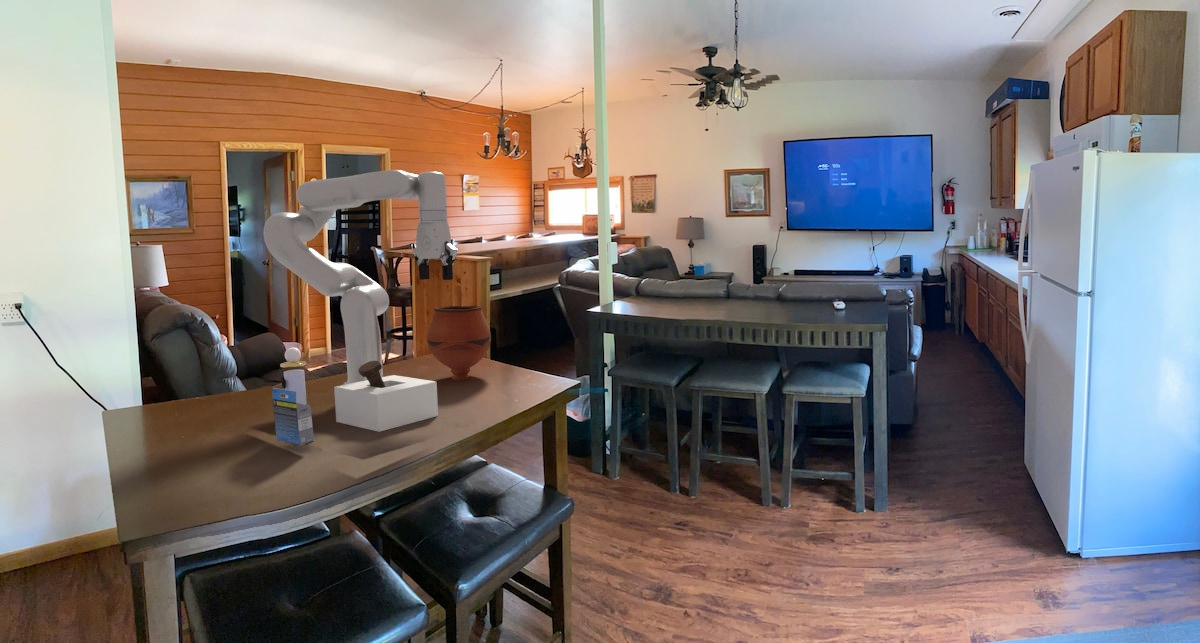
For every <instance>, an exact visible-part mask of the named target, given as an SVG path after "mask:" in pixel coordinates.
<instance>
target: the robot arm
mask: <svg viewBox="0 0 1200 643" xmlns="http://www.w3.org/2000/svg"><path fill="white" fill-rule="evenodd" d="M446 183H447V182H446V176H445V174H444V173H442V172H438V171H422V172H419V173H417V174H415V173H410V172H407V171H404V170H399V169H390V170H389V169H388V170H381V171H372V172H371V171H370V172H367V173H361V174H354V175H348V176H341V177H333V178H323V179H315V180H308V181H306V182H303V183H301V184H300V185H299V186H298V188H297V190H296V200H297V203H298V204H299V205H300V206H301V207H300V209H298V211H297V212H290V211H283V212H281V211H280V212H277V213H274V214H272V215H271V216H269V217H268V218H267V219H266V221H265V223H264V225H263V240H264V243H265V246H266V248H267V250H268V252H269V253H270V254H271V255H272V257H273V258H274V259H275V260H276V261H277V262H278V263H280V264H281V265H282V266H284V267H285V268H286V269H288V270H289V271H291V272H292V274H295V275H296V276H298V278H300V279H301V280H303V282H305V283H306V284H308V285H309V286H310V287H312V288H313V289H315V290H316V291H317V292H318V293H320V294H321V295H324V297H339V296H340V297H341V299H340V303H339V304H340V307H339V308H340V313H341V318H342V324H343V330H344V341H345V353H346V354H345V355H346V368H347V369H346V371H347V380H346V381H345V382H344V383H343V384H342V385H346V384H351V383H356V382H361V381H366V380H367V378H366V377H363V376H361V375H360V374H359V371H358V370H359V368H360V367H361V366H362V365H363V364H365V363H367V362H369V361H379V363H380V364H381V366H382V368H381V369H380V370H379V372H380V375H381V377H384V372H383V370H384V369H383V357H382V356H383V355H382V354H383V353H382V338H381V337H382V336H381V329H380V325H379V319H378V316H381V315H382V314H384V313H385V312H386V311H387V309H388V308H389V306H390V298H389V297H390V296H389V294H388V292H387V291H386V290H385V288H384V287H382V286H381V285H380V284H379V283H377V281H375V280H373V279H372V278H371V277H369V276H368V275H366V274H365V273H364V272H363V271H361V270H359V269H358V268H357V267H356V266H353V265H351V264H349V263H346V262H333V261H331V260H329V259H327V258H326V257H324V256H323V255H322V254H320V253H319V252H318V251H316V250H315V249H314V248H312V247H309V246H308V245H307V244H305V243H307V242H310V241H311V240H313V239H315V237H317V236H318V234H319V233H320V232H321V231H322V230H323V228H324V227H325V226H326V224H327V223H328V222H329V221H330V219H331V218H332V217H333V216H334V214H335V213H336V212H337V210H341V209H342V210H343V209H352V208H358V207H361V206H362V205H363V204H365V203H369V202H375V201H380V200H381V201H383V200H390V199H392V200H393V199H396V200H402V201H415V200H417V201H418V215H419V216H418V218H419V219H418V221H419V222H418V223H417V228H416V234H415V235H416V238H415V239H416V241H415V242H416V244H415V246H416V247H414V248H413V250H412V253H413V256H414V259H415V261H416V264H417V266H418V276H419V277H418V278H419V280H429V279H430V277H431V276H430V266H429V265H430V264H429V262H430V260H433V259H440V261H441V262H442V264H443V265H441V272H442V274H441V276H442V277H441V278H442V280H443V281H452V280H453V278H454V272H453V266H454V264H455V261H456V259H457V255H458V248H456V247H455V246H454V245H452V238H451V232H450V226H449V222H448V211H447V210H448V209H447V184H446Z"/></svg>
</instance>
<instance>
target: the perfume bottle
mask: <svg viewBox="0 0 1200 643" xmlns="http://www.w3.org/2000/svg"><path fill="white" fill-rule="evenodd" d="M301 357H302V352H301V351H300V349H299V348H298V347H294V346H292V347H288V348H287V349H286V350H285V352H284V359H285V360H286V362H282V363H280V364H279V365H280V366H279V367H280V368H284V369H285V368H288V370H285V371H283V374H282V375H283V376H282V377H281V378H280V380H281V388H282V389H283V390H289V391H296V402H297V403H302V404H306V405H308V403H307V392H306V391H307V390H306V379H305V378H306V375H305V370H304V369H290V370H289V368H300V367H304V366H307V361H304V360H303V361H301V360H300V359H301ZM284 395H285V394H284ZM284 398H288V396H287V395H285V397H284Z"/></svg>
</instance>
